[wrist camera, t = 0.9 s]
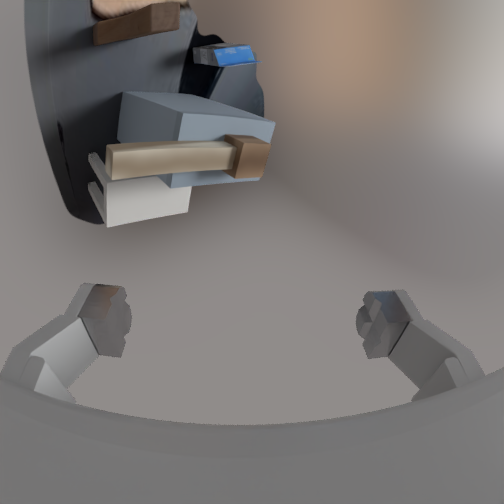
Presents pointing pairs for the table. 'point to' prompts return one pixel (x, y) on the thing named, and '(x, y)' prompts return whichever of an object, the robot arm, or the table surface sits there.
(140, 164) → the long tan plank
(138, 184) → the stool
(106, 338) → the robot arm
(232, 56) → the label tape box
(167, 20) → the wooden block
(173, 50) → the table surface
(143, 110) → the tall blue-grey box
